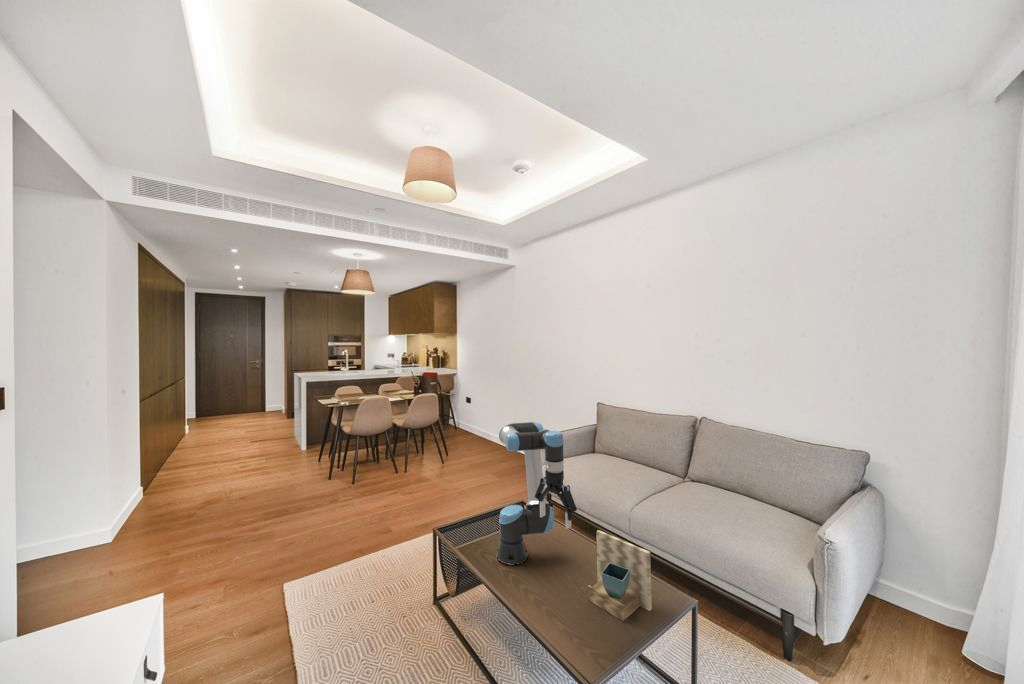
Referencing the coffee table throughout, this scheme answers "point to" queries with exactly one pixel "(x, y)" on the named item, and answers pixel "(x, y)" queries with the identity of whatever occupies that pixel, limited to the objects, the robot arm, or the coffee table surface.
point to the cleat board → (639, 578)
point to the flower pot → (615, 580)
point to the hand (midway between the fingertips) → (555, 521)
